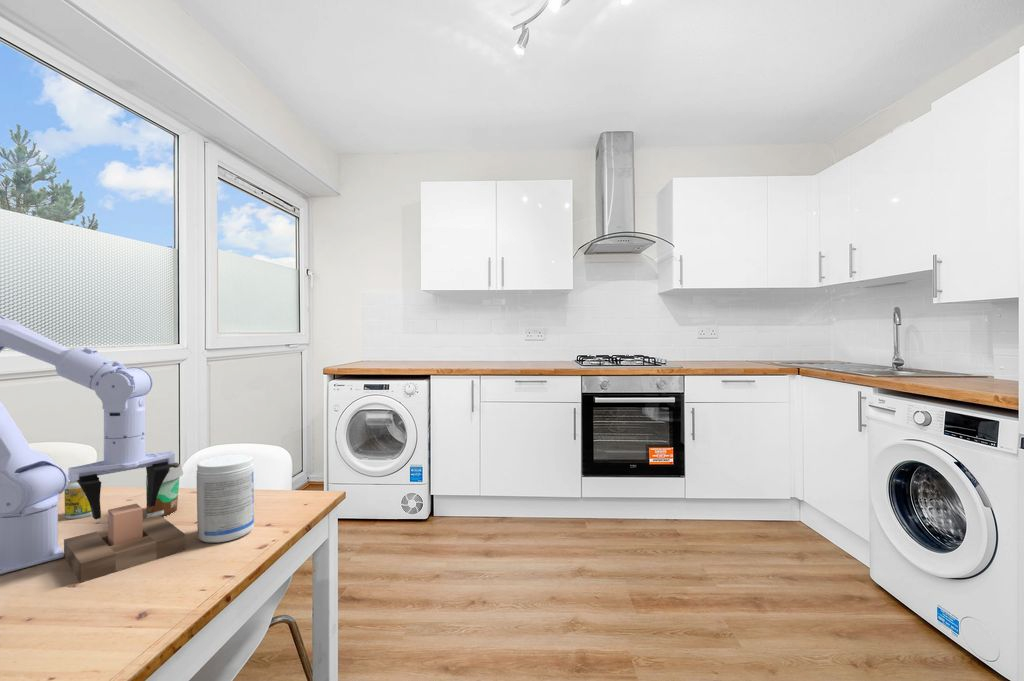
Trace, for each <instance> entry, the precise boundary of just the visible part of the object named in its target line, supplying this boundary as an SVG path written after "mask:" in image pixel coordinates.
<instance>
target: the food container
mask: <svg viewBox="0 0 1024 681" xmlns="http://www.w3.org/2000/svg"><path fill="white" fill-rule="evenodd" d="M168 466H170V470H169V472H168V474H167V476H166V477H165V479H164V481H163V483H162V485H161V487H160V490H159V492H158V495H157V499H156V503H155V506H149V505H148V504H147V503H146V519H147V518H151V517H155V516H159V515H161V516H162V517H163V518H165V517H164V516H166V517H168V516H167V515H169V516H171V515H172V514H171V513H173V512H174V513H176V512H177V510H178V500H179V488H180V477H183V475H184V471H183V467H182V465H181V463H179V462H176V461H175V463H171V464H168ZM145 478H146V479H145V486H146V490H145V491H146V494H145V495H146V496H145V497H146V499H147V490H148V481H147V474H146V476H145ZM175 511H176V512H175ZM174 513H173V514H174ZM170 514H171V515H170Z"/></svg>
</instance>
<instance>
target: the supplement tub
mask: <svg viewBox="0 0 1024 681" xmlns="http://www.w3.org/2000/svg"><path fill="white" fill-rule="evenodd" d="M196 466H197V470H196V516H197V518H196V519H197V520H196V522H197V523H196V524H197V525H196V526H197V528H196V529H197V538H198V540H200V541H201V542H203V543H209V544H210V543H215V544H216V543H217V544H219V543H224V542H231V541H233V540H236V539H239V538H242V537H243V536H245V535H248V534H249V533H251V531H252V530H253V529H254V526H255V496H254V495H255V494H254V489H255V485H254V484H255V483H254V482H255V481H254V463H253V457H252V456H251V455H248V454H226V455H225V454H224V455H218V456H214V457H210V458H209V457H208V458H205V459H203V460H201V461H199V462H198V463H197V464H196Z"/></svg>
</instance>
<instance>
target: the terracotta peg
mask: <svg viewBox="0 0 1024 681" xmlns="http://www.w3.org/2000/svg"><path fill="white" fill-rule="evenodd" d="M143 511H144V510H143V507H142V506H140V505H139V504H138V503H132V504H129V505H124V506H119V507H114V508H110V509H108V510H107V522H108V523H107V528H108V546H113V545H116V544H120V543H124V542H127V541H131V540H134V539H138V538H142V537H143V519H144V516H143V515H144V514H143V513H144V512H143Z"/></svg>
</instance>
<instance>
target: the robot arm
mask: <svg viewBox="0 0 1024 681" xmlns="http://www.w3.org/2000/svg"><path fill="white" fill-rule="evenodd" d="M5 348H7V349H10V350H12V351H15V352H18V353H21V354H24V355H26V356H29V357H31V358H34V359H37V360H39V361H41V362H45V363H47V364H50V365H53V366H54V367H55V372H56V374H57V375H58V376H59V377H62V378H64V379H65V380H69V381H71V382H74V383H76V384H79V385H81V386H82V387H85V388H88V389H90V390H92V391H94V392H95V394H96V396H97V397H98V399H99V400H100V401H101V404H102V410H103V460H100V461H96V462H91V463H87V464H82V465H77V466H73V467H68V469H67V470H68V472H67V470H66V469H65V468H63V467H62V466H61V465H59V464H57V463H56V462H55V461H53V459H52V458H51V457H50V455H49V454H46V453H45V452H42V451H38V450H35V449H33V448H32V447H31V446H30V444H29V443H28V441H27V440H26V439H25V436H24V435H23V434H22V432H21V430H20V428H18V425H17V424H16V422H15V421H14V419H13V418H12V416H11V414H10V413H9V411H8V409H7V408H6V407H5V405H4V403H3V402H2V400H1V399H0V575H3V574H6V573H7V574H8V573H10V572H14V571H18V570H21V569H25V568H26V569H27V568H30V567H33V566H37V565H39V564H43V563H48V562H52V561H55V560H58V559H62V558H65V557H64V556H65V554H64V550H63V549H62V548H61V546H60V545H59V536H58V535H59V534H58V533H59V532H58V531H59V530H58V526H59V523H58V521H59V520H58V518H59V513H58V511H59V510H58V507H59V504H58V503H59V501H61V498H60V495H61V494H62V493H64V490H65V489H66V488H67V486H68V482H69V481H77V482H78V484H79V485H80V486H81V488H82V490H83V491H84V493H85V495H86V497H87V499H88V501H89V504H90V507H91V510H92V515H91V516H92V518H93V519H94V520H99V519H101V518H102V517H101V516H102V511H101V510H102V509H101V490H102V482H101V480H100V477H99V476H102V475H103V476H104V475H109V474H114V473H120V472H126V471H131V470H137V469H144V468H145V470H146V475H147V481H148V490H147V498H146V505H147V504H148V505H149V506H155V503H156V499H157V495H158V492H159V490H160V487H161V485H162V483H163V481H164V479H165V477H166V476H167V474H168V472H169V470H170V466H168V464H171V463H175V462H176V452H174V451H166V452H155V453H148V454H146V395H148V394H149V393H150V392H151V390H152V388H153V384H154V383H153V378H152V376H151V374H150V373H149V372H148V371H146V370H145V369H143V368H142V367H141V366H130V367H126V366H125V363H124V362H122V361H121V360H112V359H110V358H107V357H106V356H103V355H101V354H99V353H98V352H99V350H98V349H96V348H95V347H82V346H81V347H80V346H79V347H75V348H71V349H69V348H68V347H66V346H64V345H62V344H60V343H58V342H56V341H54V340H52V339H50V338H48V337H46V336H44V335H42V334H40V333H37V332H36V331H34V330H32V329H30V328H28V327H26V326H24V325H22V324H21V323H20V322H19V321H17V320H14V319H8V317H6V316H3V315H1V314H0V353H1V352H3V351H4V349H5Z"/></svg>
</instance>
